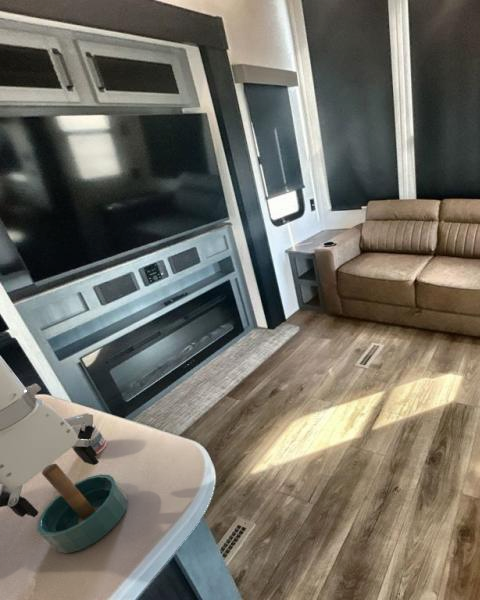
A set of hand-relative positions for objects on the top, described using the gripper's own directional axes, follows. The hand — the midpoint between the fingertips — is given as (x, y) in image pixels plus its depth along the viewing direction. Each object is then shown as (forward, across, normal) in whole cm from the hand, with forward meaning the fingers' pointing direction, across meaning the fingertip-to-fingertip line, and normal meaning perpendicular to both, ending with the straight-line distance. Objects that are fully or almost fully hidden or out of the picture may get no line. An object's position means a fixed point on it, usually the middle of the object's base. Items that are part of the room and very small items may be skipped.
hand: (63, 486), depth 62 cm
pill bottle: (+10, -12, -18) cm, 24 cm away
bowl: (+10, 0, 0) cm, 10 cm away
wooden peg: (+9, 0, 0) cm, 9 cm away
